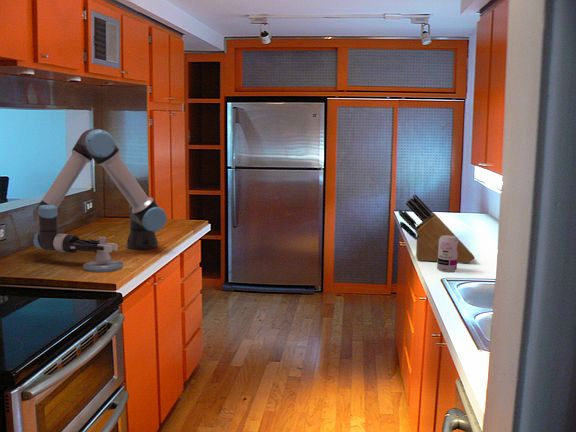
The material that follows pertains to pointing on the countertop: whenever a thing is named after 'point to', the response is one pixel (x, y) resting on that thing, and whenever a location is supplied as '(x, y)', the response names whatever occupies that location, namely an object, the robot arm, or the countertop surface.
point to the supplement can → (447, 253)
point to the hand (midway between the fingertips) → (113, 248)
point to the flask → (102, 255)
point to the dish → (103, 266)
